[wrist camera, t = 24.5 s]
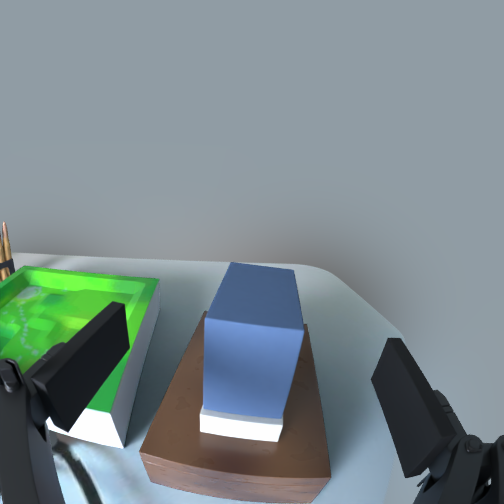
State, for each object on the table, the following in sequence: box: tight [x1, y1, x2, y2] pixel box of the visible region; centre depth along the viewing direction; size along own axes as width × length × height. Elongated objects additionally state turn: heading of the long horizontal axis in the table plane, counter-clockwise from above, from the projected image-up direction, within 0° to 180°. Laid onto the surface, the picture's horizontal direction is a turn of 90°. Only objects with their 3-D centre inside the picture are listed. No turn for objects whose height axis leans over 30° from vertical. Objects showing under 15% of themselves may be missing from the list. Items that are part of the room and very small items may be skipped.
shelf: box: [139, 311, 331, 503], centre depth 23 cm, size 12×20×5 cm, turn 176°
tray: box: [0, 266, 160, 449], centre depth 26 cm, size 25×25×5 cm
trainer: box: [200, 262, 305, 442], centre depth 21 cm, size 5×14×9 cm, turn 176°
